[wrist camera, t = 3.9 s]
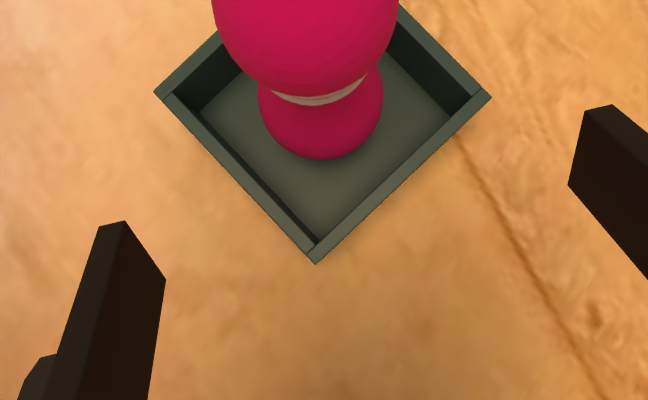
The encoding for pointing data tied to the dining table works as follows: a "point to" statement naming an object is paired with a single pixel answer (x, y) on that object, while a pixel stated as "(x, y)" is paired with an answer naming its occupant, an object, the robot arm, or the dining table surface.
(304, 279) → the dining table surface
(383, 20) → the pepper mill
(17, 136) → the dining table surface
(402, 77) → the bin
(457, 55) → the dining table surface
